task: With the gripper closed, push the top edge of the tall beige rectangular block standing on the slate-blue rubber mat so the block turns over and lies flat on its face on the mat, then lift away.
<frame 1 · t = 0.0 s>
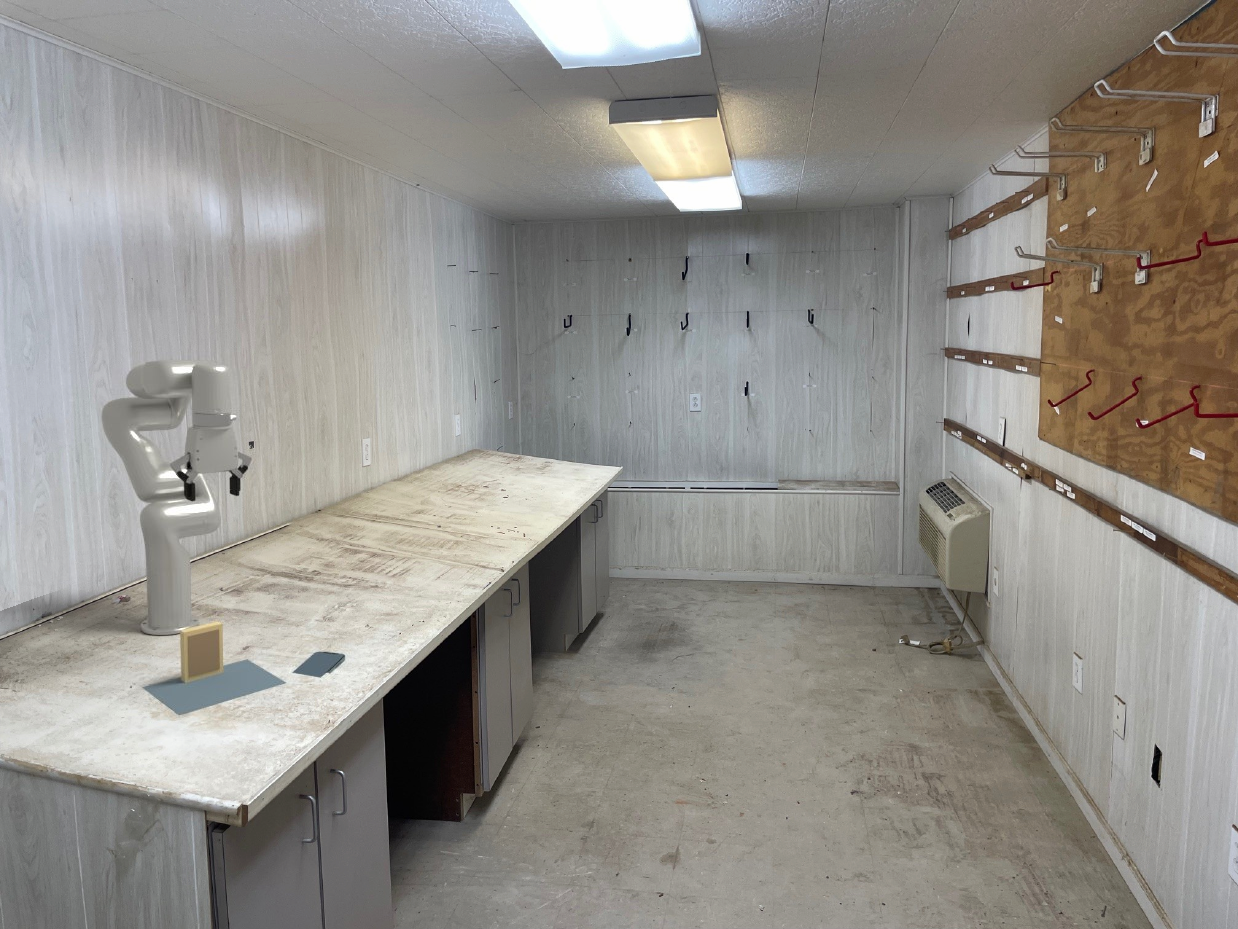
hand: (213, 497, 188), 37 cm above the workbench, tool pointing down, fingers open, 9 cm apart
rubber mat: (215, 688, 177), on the workbench
smartphone: (316, 673, 189), on the workbench
beige rectangular block: (202, 676, 180), point 1 cm above the workbench, touching rubber mat
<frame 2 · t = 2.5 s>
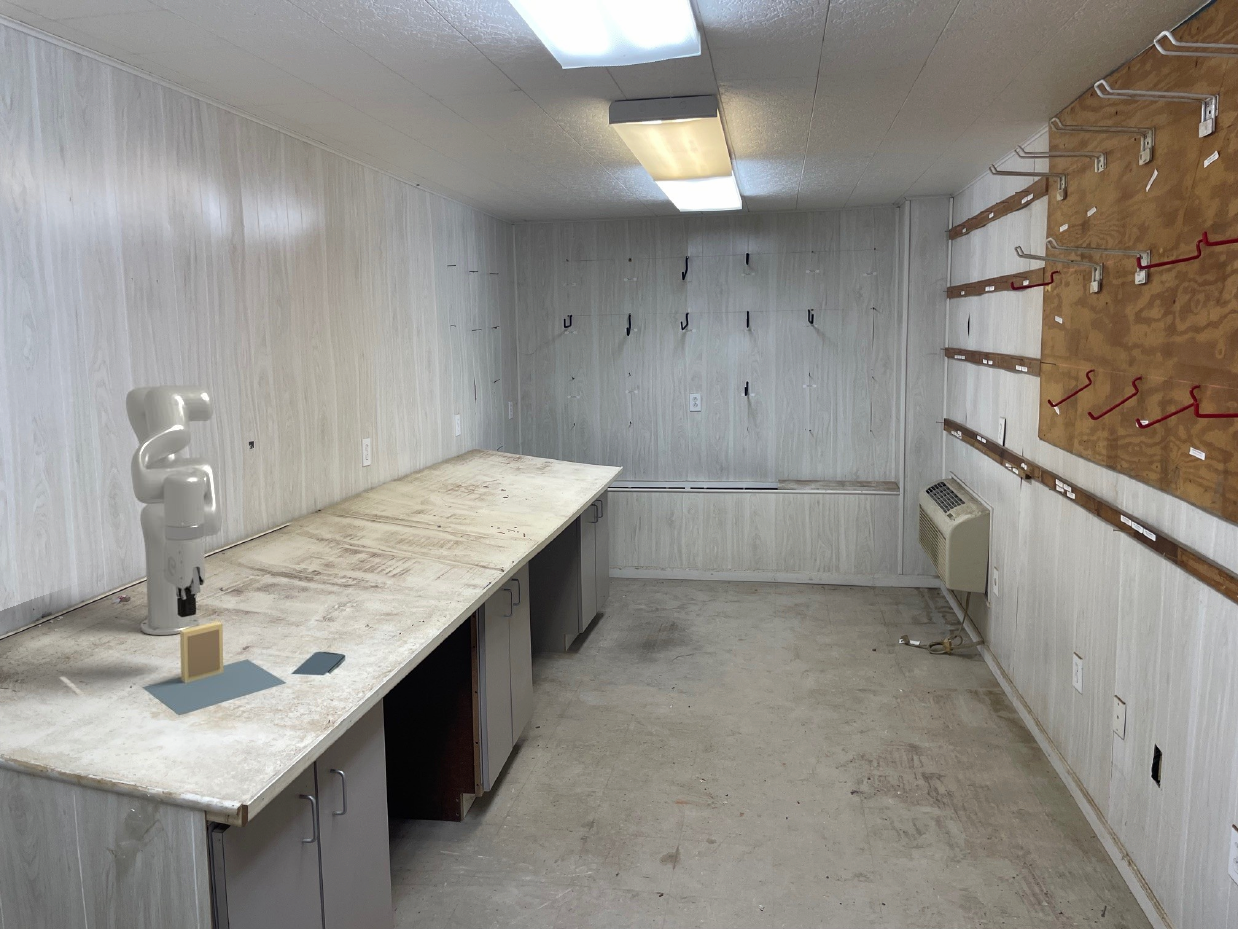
hand: (187, 615, 182), 13 cm above the workbench, tool pointing down, fingers closed
nothing on the workbench moved.
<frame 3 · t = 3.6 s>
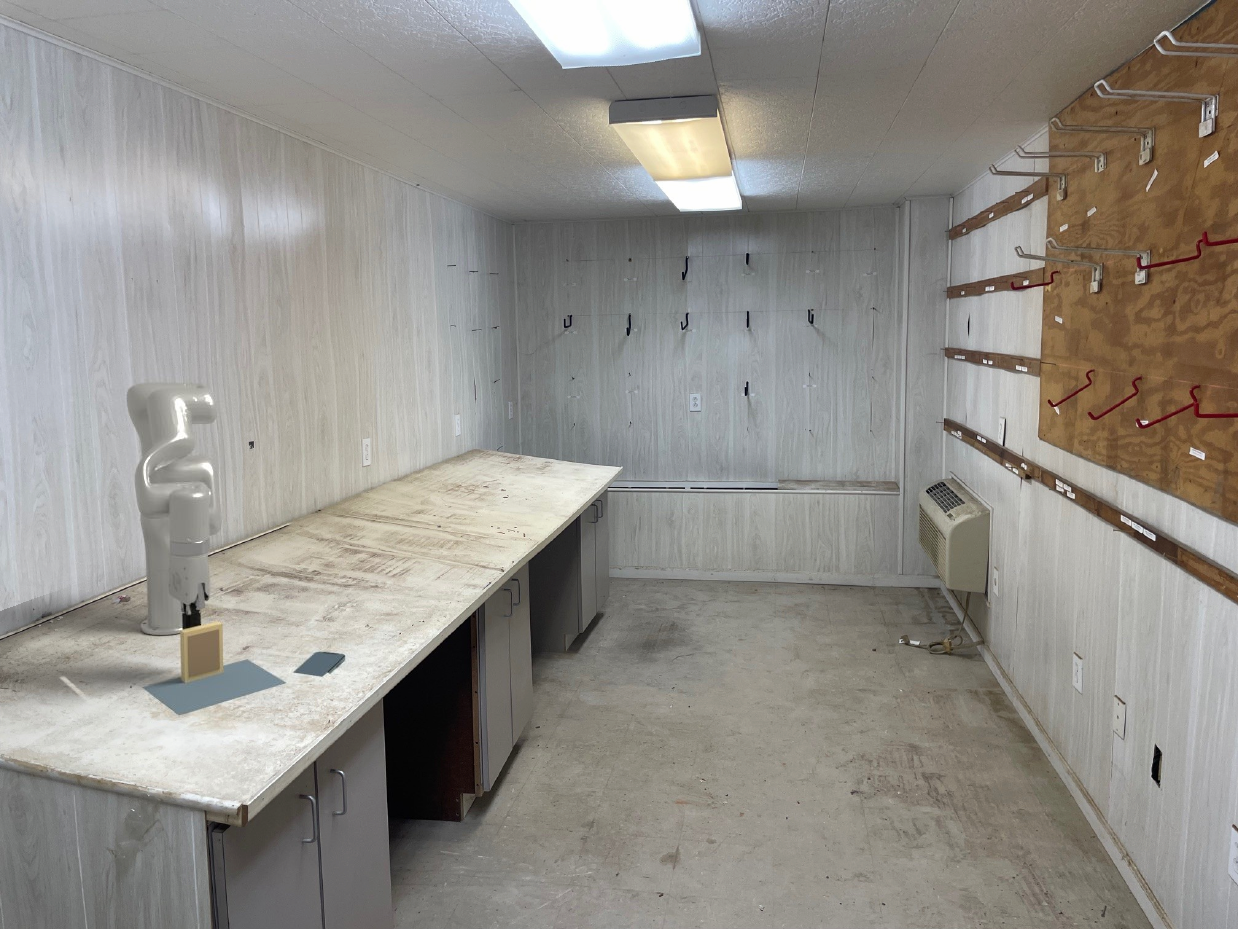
hand: (191, 630, 182), 10 cm above the workbench, tool pointing down, fingers closed
nothing on the workbench moved.
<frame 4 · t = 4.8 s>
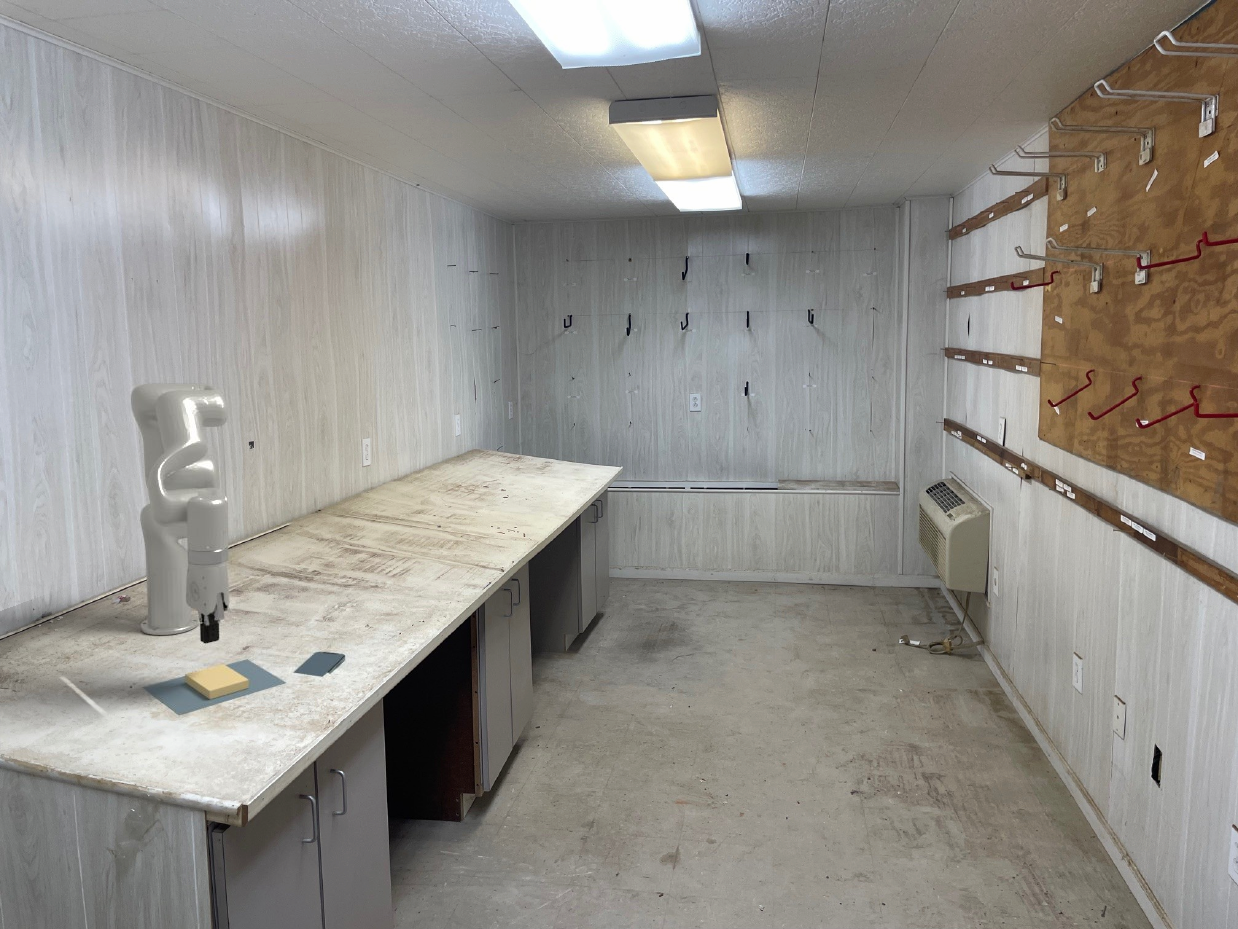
hand: (209, 641, 177), 10 cm above the workbench, tool pointing down, fingers closed
beige rectangular block: (204, 673, 180), point 2 cm above the workbench, tilted 90°, touching rubber mat
everything else where it was.
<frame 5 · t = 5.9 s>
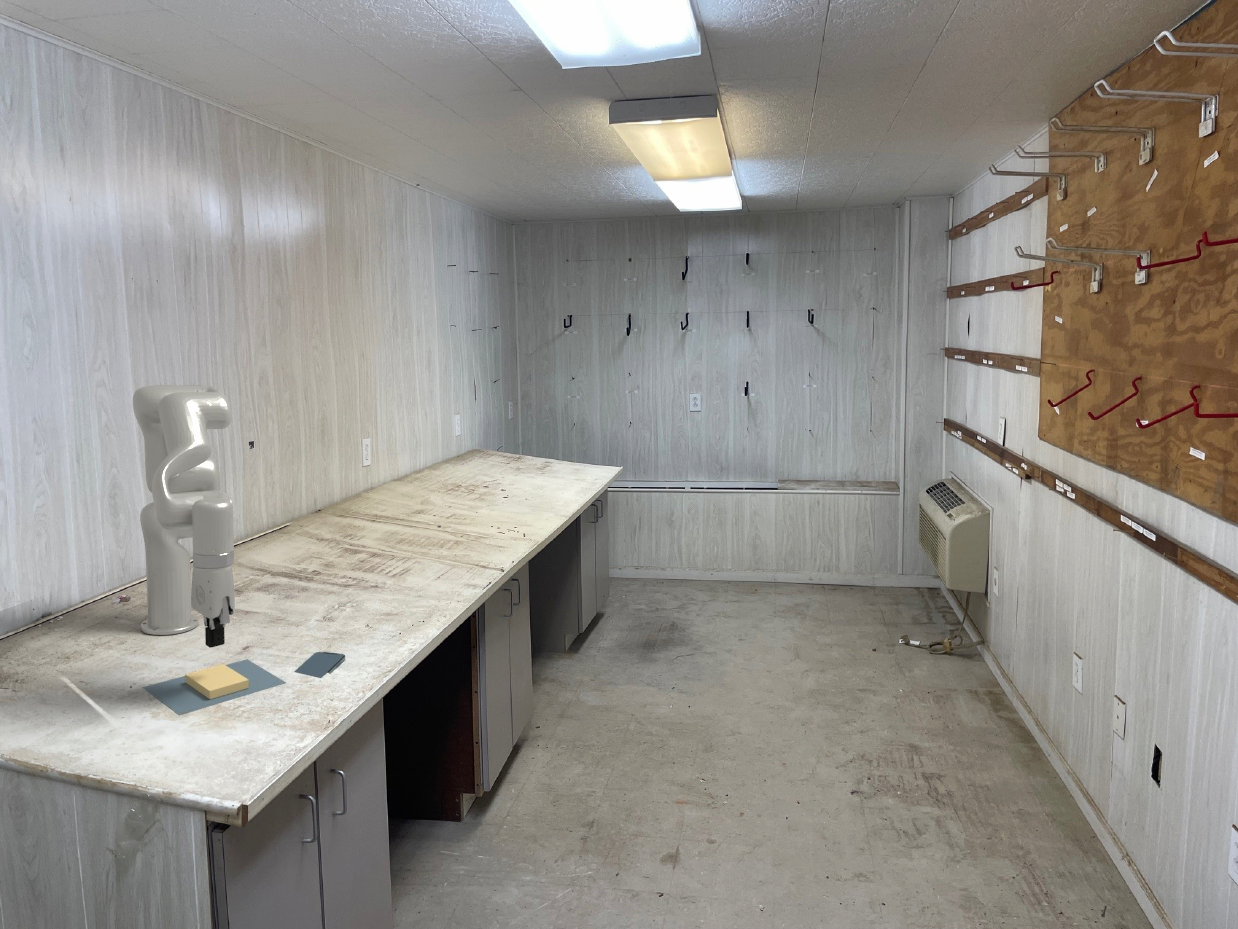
hand: (215, 644, 175), 10 cm above the workbench, tool pointing down, fingers closed
nothing on the workbench moved.
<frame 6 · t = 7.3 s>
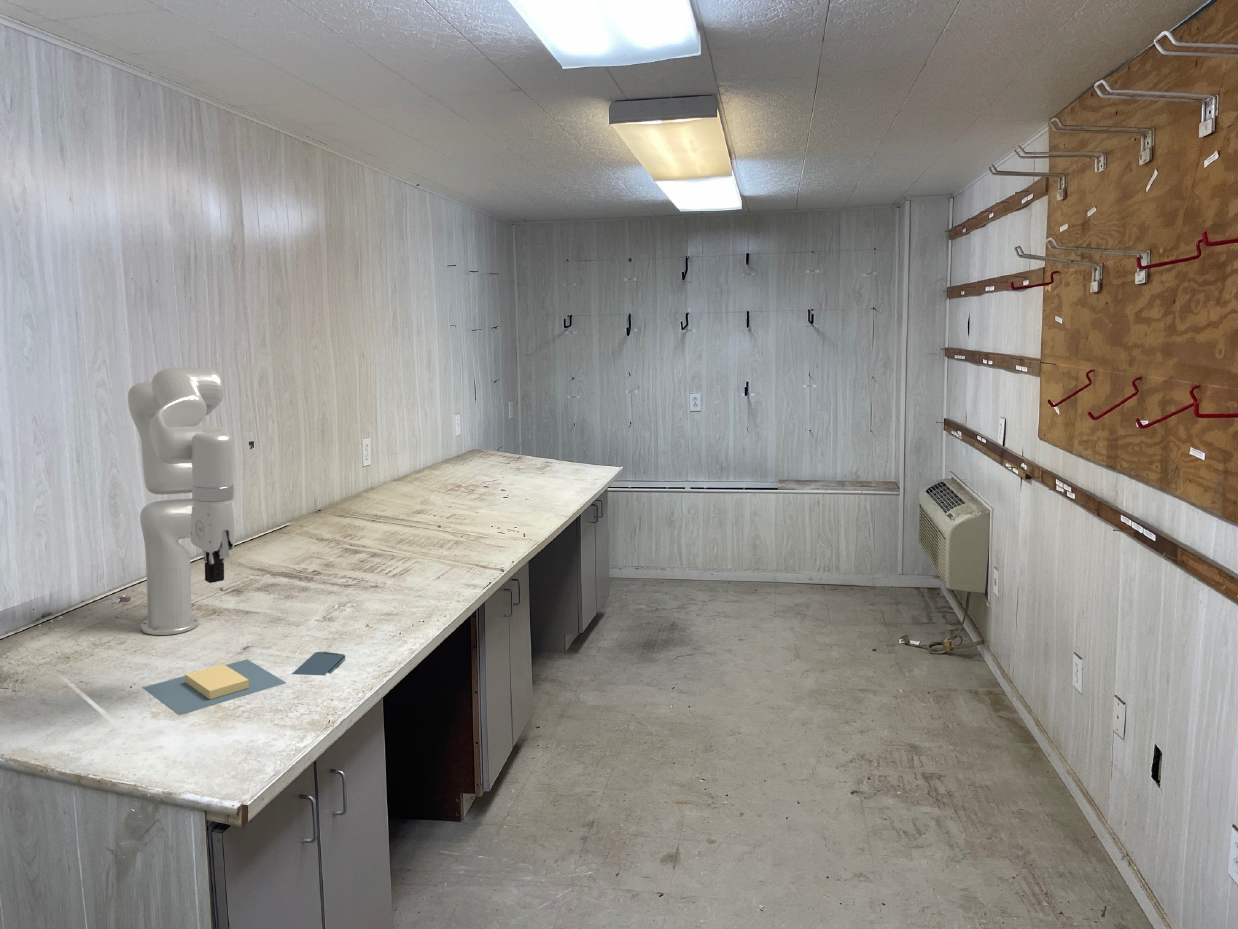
hand: (214, 580, 174), 23 cm above the workbench, tool pointing down, fingers closed
nothing on the workbench moved.
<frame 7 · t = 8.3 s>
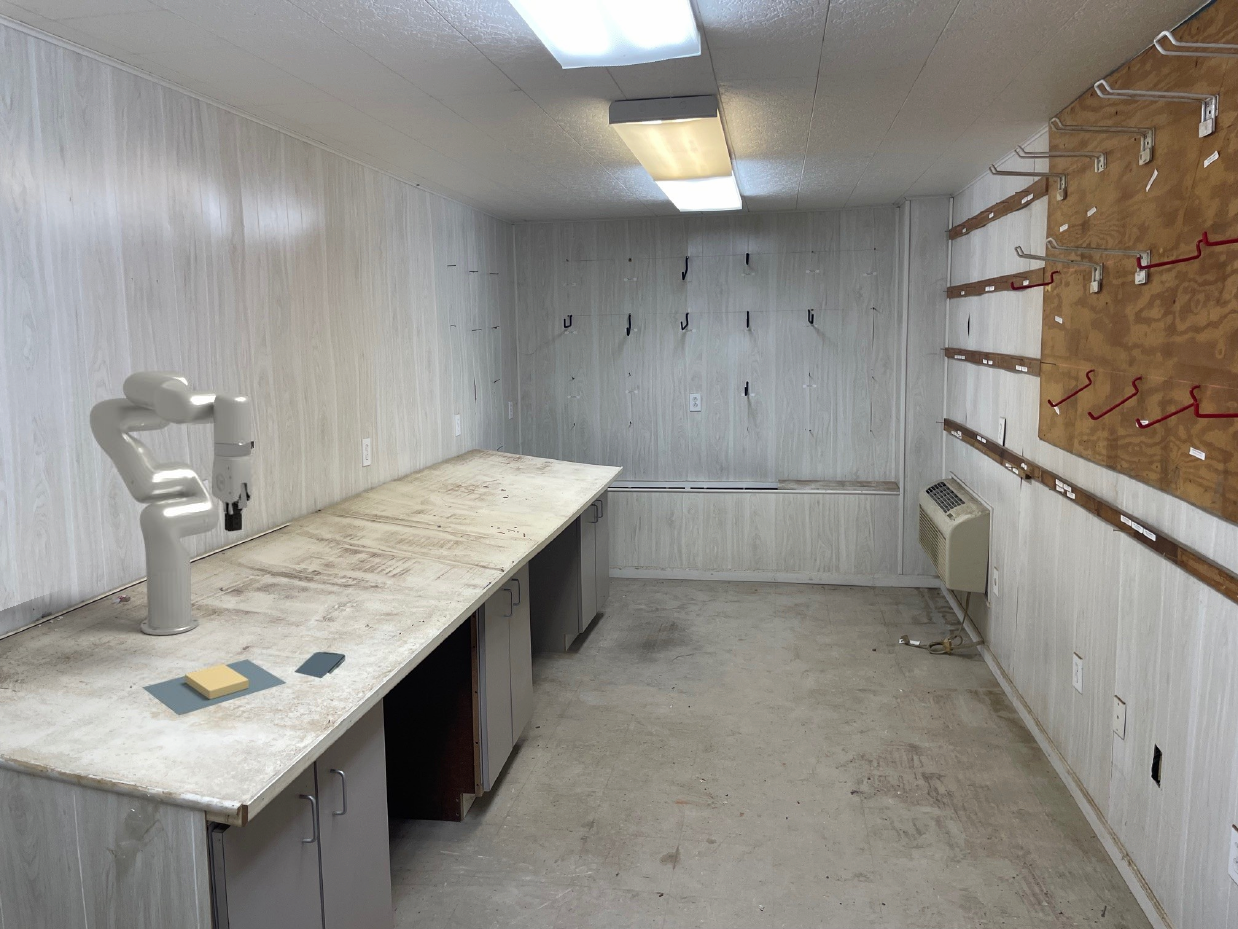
hand: (233, 530, 191), 29 cm above the workbench, tool pointing down, fingers closed
nothing on the workbench moved.
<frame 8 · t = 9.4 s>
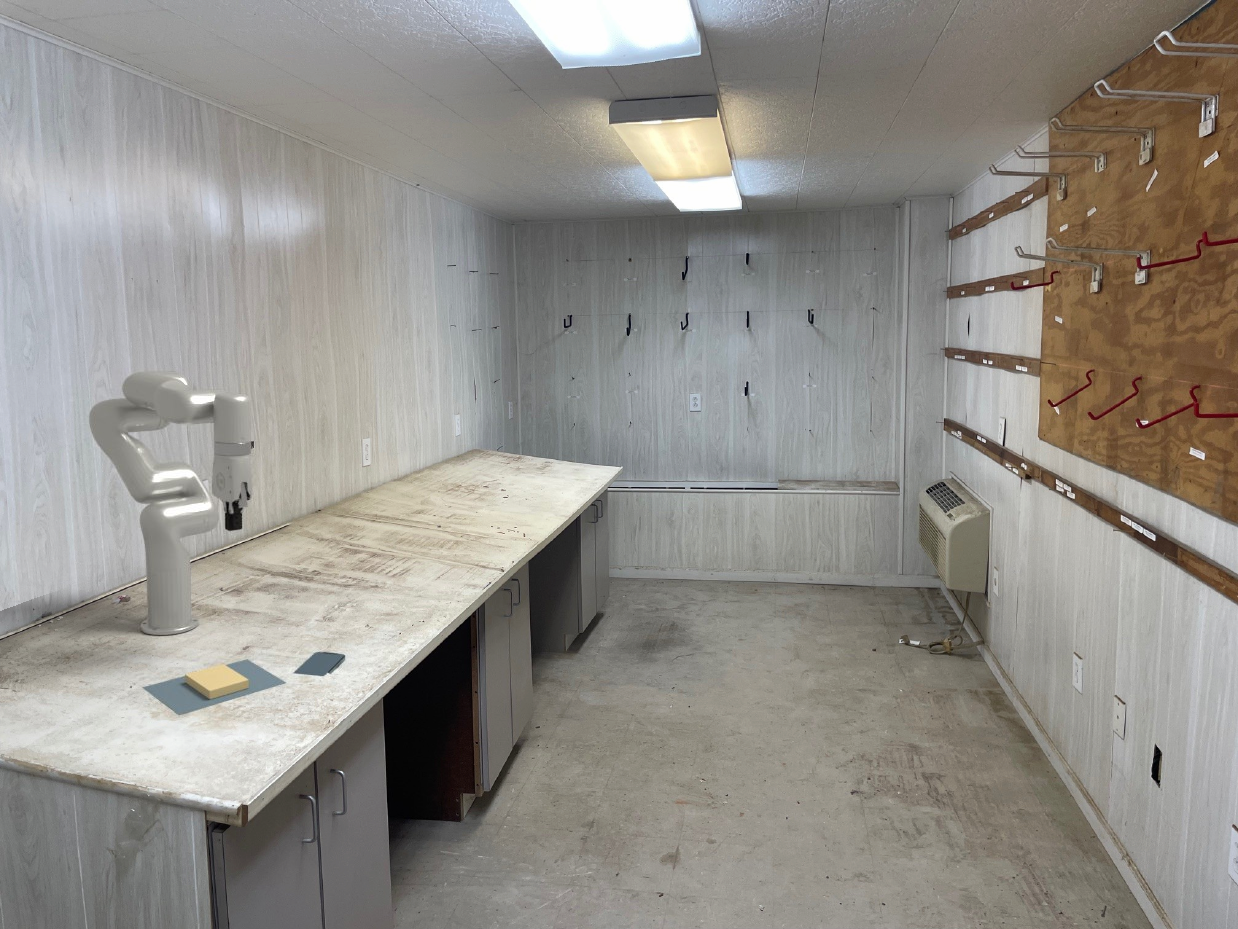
hand: (233, 529, 191), 29 cm above the workbench, tool pointing down, fingers closed
nothing on the workbench moved.
at the end: beige rectangular block tilted 90°; beige rectangular block inside the target area on the rubber mat (5.0 cm from its centre), point 1.8 cm above the rubber mat's base; beige rectangular block touching rubber mat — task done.
